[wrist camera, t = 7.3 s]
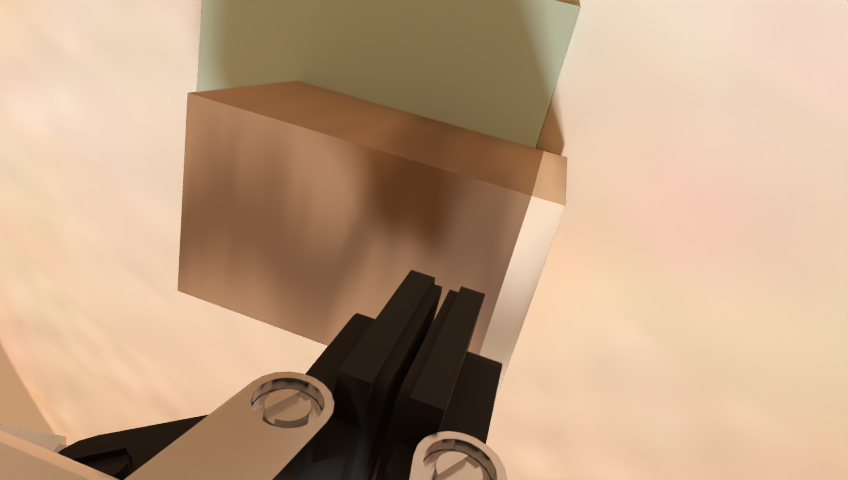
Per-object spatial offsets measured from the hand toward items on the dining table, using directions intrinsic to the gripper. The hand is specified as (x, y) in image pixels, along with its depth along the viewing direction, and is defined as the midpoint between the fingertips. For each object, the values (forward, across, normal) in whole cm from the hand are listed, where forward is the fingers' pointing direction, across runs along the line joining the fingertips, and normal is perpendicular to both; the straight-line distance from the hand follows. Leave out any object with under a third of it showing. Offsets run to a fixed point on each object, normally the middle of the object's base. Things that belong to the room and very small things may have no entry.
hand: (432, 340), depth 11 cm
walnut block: (+5, -2, 0) cm, 6 cm away
